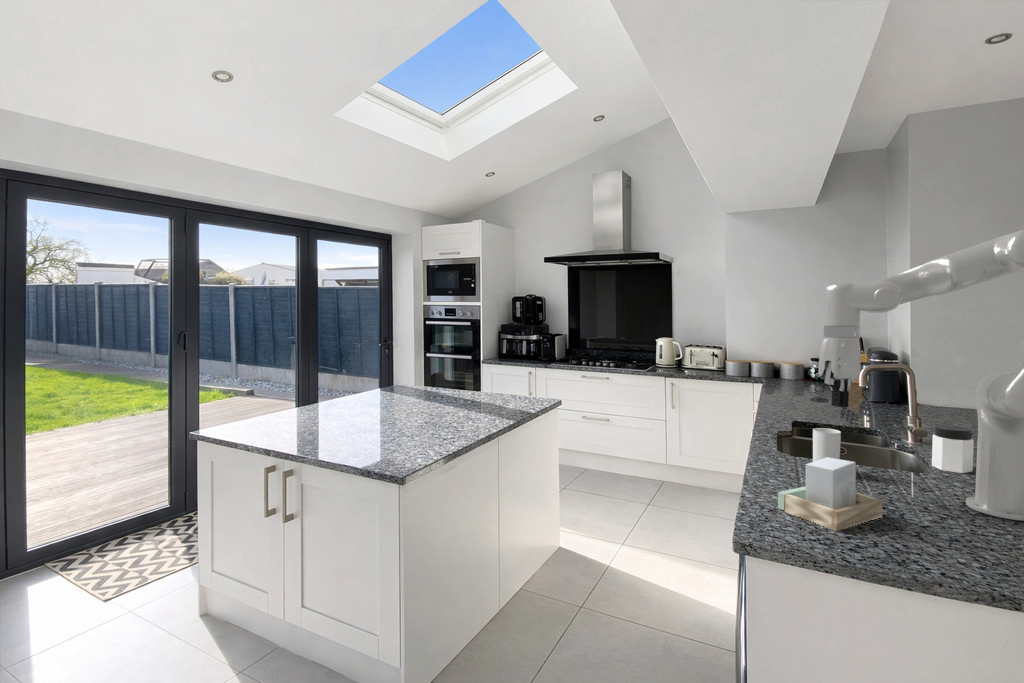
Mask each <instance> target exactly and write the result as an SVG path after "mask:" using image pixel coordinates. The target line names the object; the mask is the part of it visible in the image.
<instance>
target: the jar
mask: <svg viewBox="0 0 1024 683" xmlns="http://www.w3.org/2000/svg"><path fill="white" fill-rule="evenodd" d="M974 441H975V440H974V439H973V430H972V429H971V428H969V427H968V428H967V427H965V426H956V425H947V424H943V425H942V424H938V425H935V426H934V434H932V441H931V442H932V443H931V444H932V447H931V467H933V468H936V469H938V470H940V471H945V472H951V473H957V474H966V473H973V470H974V469H973V468H974V466H973V464H974V443H975V442H974Z"/></svg>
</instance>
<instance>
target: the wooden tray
mask: <svg viewBox="0 0 1024 683" xmlns="http://www.w3.org/2000/svg"><path fill="white" fill-rule="evenodd" d="M883 503H884V502H883V499H880V498H876V497H873V496H870V495H868V494H867V495H866V494H863V493H860V492H857V491H856V504H855V505H852V506H848V507H844V508H840V509H836V510H834V509H831V508H828V507H825V506H822V505H819V504H816V503H813V502H810V501H807V500H805V499H802V498H799V497H796V496H793V495H790V494H786V495H785V510H784V513H787V514H789V515H791V516H794V515H795V516H794V517H796V518H797V517H798V518H799V517H801V519H802V518H803V519H802V520H805V519H806V520H805V521H807V520H809V521H808V522H810V521H811V522H810V523H813V522H814V523H813V524H815V523H816V524H815V525H818V524H819V525H818V526H821V527H823V526H824V527H823V528H826V529H829V530H831V531H834V532H838V531H843V530H845V529H849V527H850V528H852V526H853V527H856V526H859V525H858V524H860V525H862V524H861V523H863V524H865V523H864V522H867V521H870V520H874V519H877V520H879V519H878V518H881V519H883V506H884V504H883ZM874 521H875V520H874ZM870 522H871V521H870ZM867 523H868V522H867ZM855 525H856V526H855Z"/></svg>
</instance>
